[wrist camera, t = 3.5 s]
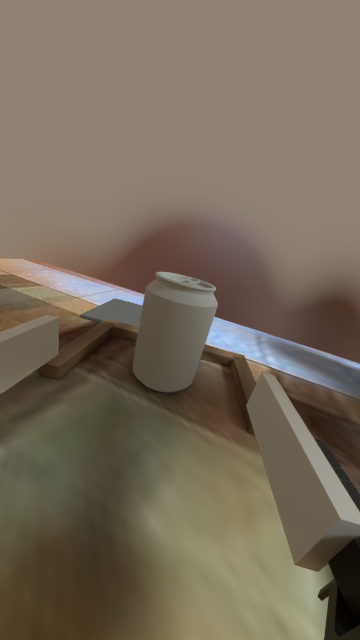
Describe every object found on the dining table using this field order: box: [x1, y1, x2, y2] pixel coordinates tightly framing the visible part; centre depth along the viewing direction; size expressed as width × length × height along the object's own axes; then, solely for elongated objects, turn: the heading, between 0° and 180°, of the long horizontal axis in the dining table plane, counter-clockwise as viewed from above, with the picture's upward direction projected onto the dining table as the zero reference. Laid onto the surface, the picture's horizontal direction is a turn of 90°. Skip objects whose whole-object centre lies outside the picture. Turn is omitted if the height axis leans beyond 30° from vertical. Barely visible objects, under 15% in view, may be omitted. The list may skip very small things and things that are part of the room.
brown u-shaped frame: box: [39, 319, 256, 435], centre depth 23 cm, size 23×13×2 cm, turn 83°
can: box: [133, 272, 218, 392], centre depth 20 cm, size 8×8×12 cm
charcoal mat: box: [81, 299, 143, 327], centre depth 37 cm, size 13×13×1 cm
